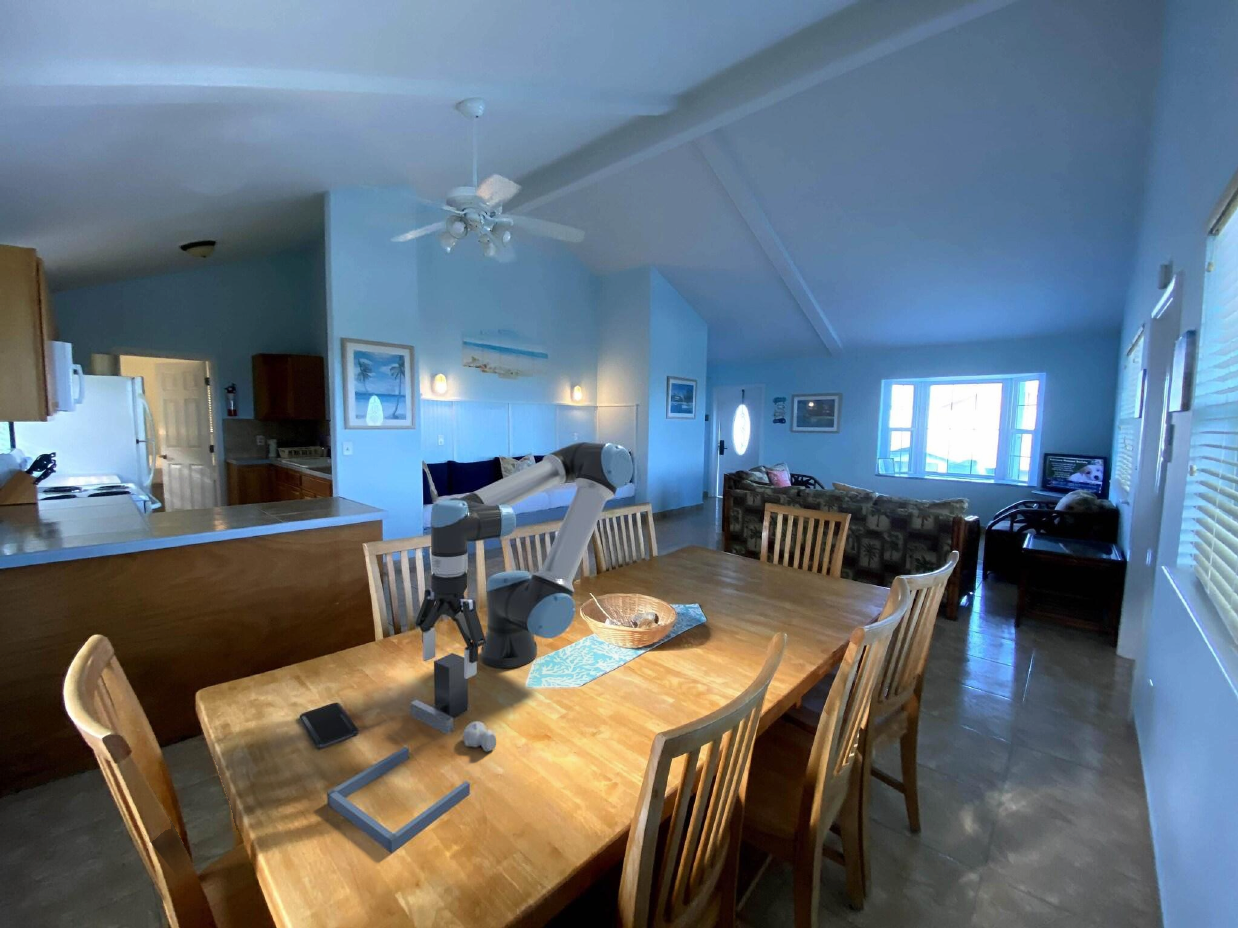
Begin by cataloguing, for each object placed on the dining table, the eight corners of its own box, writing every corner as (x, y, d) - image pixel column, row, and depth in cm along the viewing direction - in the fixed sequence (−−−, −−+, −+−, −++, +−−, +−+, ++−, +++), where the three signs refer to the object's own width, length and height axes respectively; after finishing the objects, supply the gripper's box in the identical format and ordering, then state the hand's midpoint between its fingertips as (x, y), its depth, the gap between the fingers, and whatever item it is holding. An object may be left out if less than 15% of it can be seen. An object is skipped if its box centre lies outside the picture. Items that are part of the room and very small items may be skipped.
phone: (316, 747, 102) (298, 714, 113) (317, 752, 102) (298, 719, 113) (360, 730, 108) (338, 700, 118) (360, 736, 108) (338, 705, 119)
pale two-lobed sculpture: (460, 745, 106) (482, 728, 110) (480, 764, 101) (502, 745, 104) (454, 729, 105) (476, 712, 108) (473, 746, 99) (496, 728, 103)
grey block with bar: (442, 698, 122) (442, 648, 120) (478, 715, 115) (478, 662, 114) (410, 715, 114) (409, 663, 113) (447, 734, 108) (446, 678, 107)
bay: (405, 756, 101) (405, 746, 101) (469, 793, 91) (469, 782, 91) (327, 803, 88) (327, 792, 88) (391, 853, 79) (391, 840, 79)
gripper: (398, 566, 117) (399, 657, 119) (475, 587, 103) (475, 691, 105) (427, 559, 123) (427, 646, 125) (503, 578, 110) (502, 676, 111)
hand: (449, 667), depth 115 cm, fingers open, 13 cm apart
